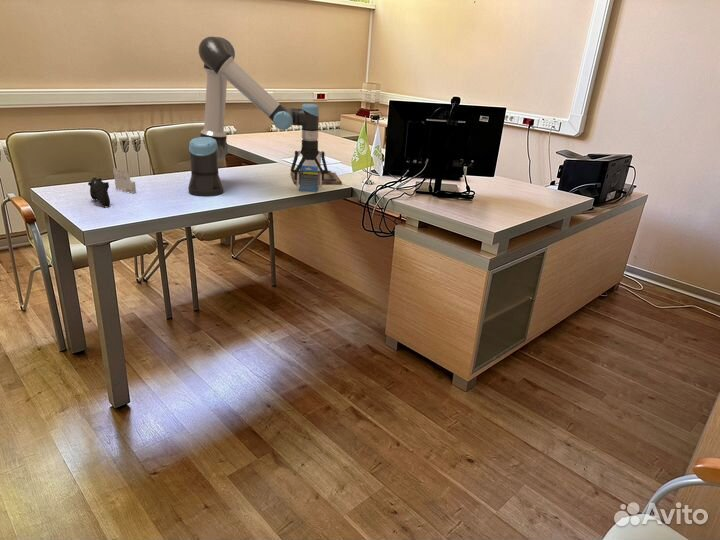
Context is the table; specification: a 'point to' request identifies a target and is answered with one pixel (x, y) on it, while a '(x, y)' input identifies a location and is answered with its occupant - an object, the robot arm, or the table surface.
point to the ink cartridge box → (124, 181)
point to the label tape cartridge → (308, 179)
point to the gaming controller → (99, 191)
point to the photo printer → (312, 162)
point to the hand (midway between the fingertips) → (309, 187)
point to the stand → (325, 179)
